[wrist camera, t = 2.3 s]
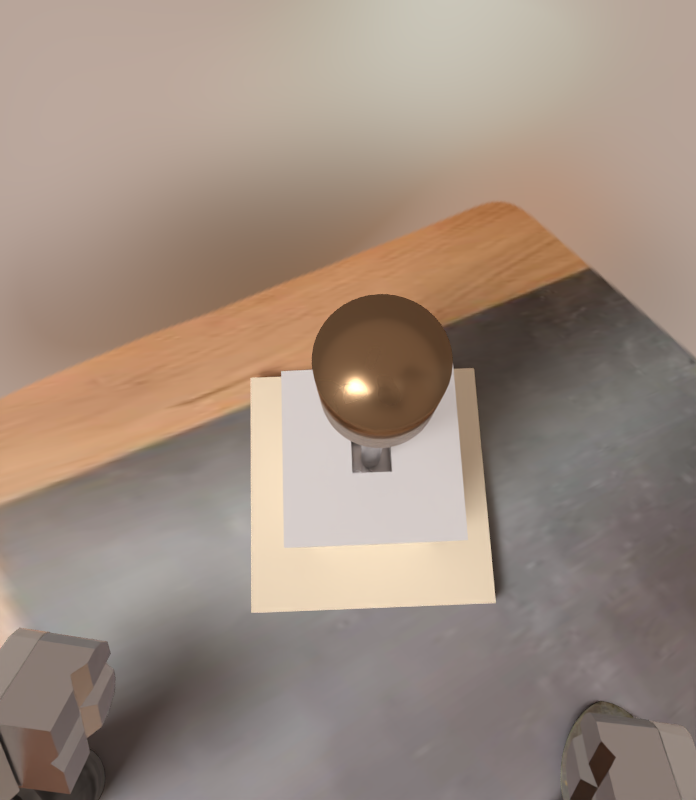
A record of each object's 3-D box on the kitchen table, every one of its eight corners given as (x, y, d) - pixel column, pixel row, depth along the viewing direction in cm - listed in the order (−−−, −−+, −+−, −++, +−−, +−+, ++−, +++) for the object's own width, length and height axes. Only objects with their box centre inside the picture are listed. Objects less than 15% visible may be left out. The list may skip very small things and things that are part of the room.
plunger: (429, 395, 34) (505, 229, 16) (439, 522, 32) (534, 491, 15) (305, 400, 34) (245, 241, 16) (308, 527, 33) (245, 504, 15)
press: (471, 372, 50) (529, 280, 33) (492, 601, 46) (572, 634, 29) (253, 381, 50) (197, 295, 33) (254, 611, 46) (190, 649, 29)
